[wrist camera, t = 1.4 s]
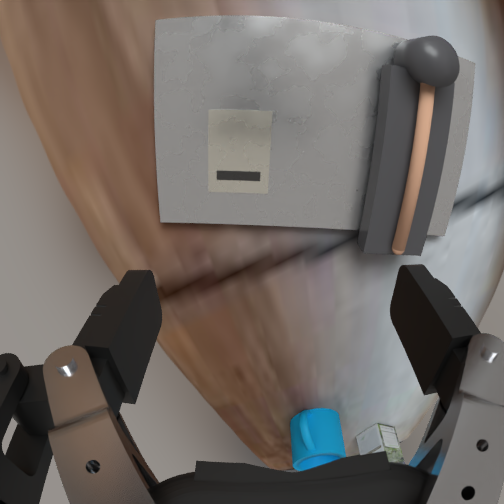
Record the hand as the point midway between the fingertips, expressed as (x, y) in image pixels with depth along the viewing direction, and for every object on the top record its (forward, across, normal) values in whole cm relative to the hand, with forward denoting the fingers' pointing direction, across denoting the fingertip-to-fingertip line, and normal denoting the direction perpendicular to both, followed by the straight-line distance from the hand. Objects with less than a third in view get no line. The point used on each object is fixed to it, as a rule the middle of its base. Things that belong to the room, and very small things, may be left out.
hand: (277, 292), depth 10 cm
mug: (+20, -7, +39) cm, 44 cm away
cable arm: (+17, -12, -2) cm, 21 cm away
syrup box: (+20, -20, +48) cm, 56 cm away
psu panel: (+19, -5, -3) cm, 20 cm away
